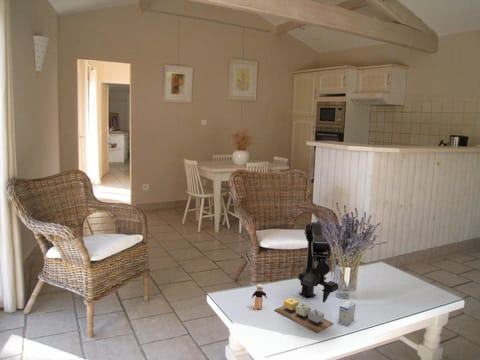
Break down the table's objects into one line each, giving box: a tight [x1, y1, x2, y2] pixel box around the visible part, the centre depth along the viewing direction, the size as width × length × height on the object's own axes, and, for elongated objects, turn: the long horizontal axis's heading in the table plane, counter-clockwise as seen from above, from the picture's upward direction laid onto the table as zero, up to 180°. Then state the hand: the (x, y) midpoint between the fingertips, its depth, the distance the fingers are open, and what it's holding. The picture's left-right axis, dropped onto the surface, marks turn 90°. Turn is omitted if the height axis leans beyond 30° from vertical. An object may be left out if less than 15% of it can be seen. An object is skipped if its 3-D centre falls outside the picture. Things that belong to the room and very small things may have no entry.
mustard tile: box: [283, 297, 300, 310], centre depth 196 cm, size 5×5×3 cm
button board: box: [273, 305, 334, 334], centre depth 191 cm, size 12×26×1 cm, turn 43°
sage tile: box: [296, 303, 312, 316], centre depth 191 cm, size 5×5×3 cm
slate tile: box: [308, 308, 325, 323], centre depth 185 cm, size 5×5×3 cm
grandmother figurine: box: [251, 283, 268, 311], centre depth 198 cm, size 8×4×13 cm, turn 105°
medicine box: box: [337, 300, 356, 327], centre depth 188 cm, size 8×4×9 cm, turn 141°
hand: (316, 299), depth 184 cm, fingers open, 8 cm apart
